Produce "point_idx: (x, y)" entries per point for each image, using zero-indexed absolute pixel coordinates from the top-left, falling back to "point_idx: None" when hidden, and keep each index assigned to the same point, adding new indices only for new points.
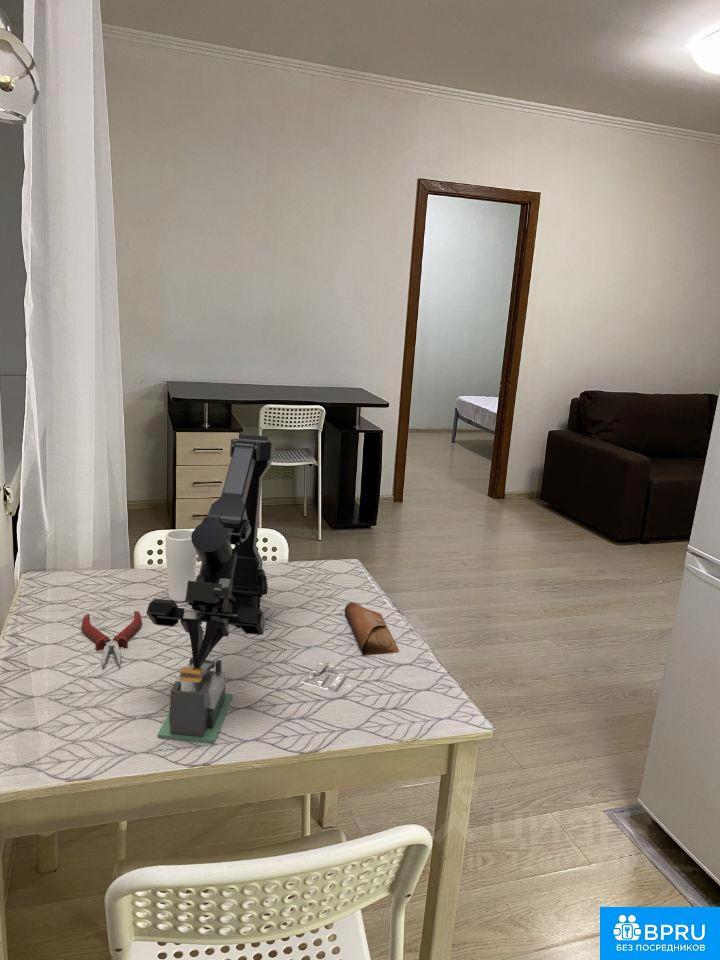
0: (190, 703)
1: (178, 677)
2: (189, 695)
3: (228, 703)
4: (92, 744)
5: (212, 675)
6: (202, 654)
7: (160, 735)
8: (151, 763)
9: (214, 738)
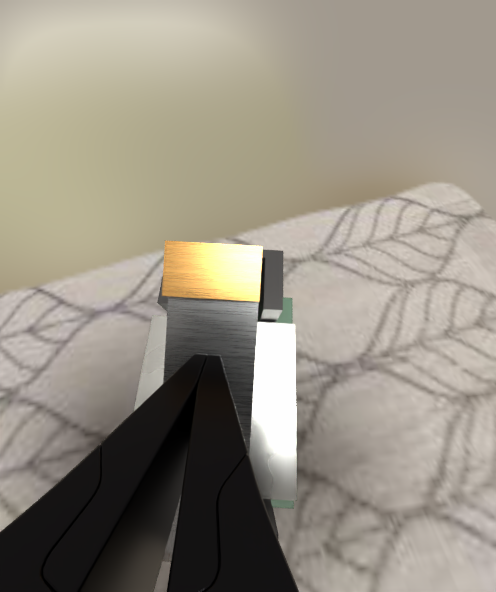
0: None
1: (294, 415)
2: None
3: None
4: (398, 273)
5: None
6: (161, 392)
7: (285, 298)
8: (278, 236)
9: None
